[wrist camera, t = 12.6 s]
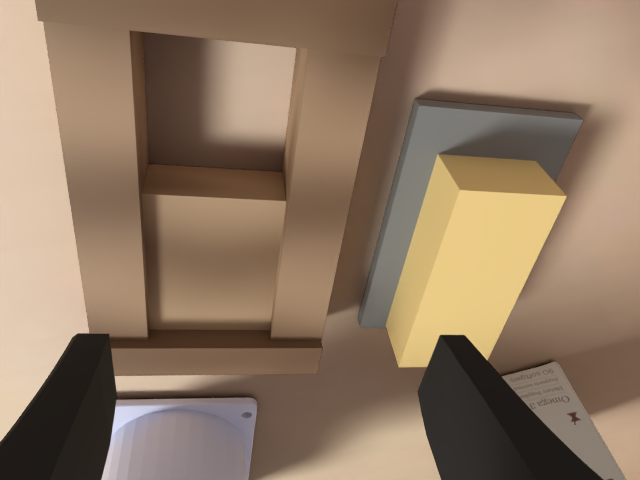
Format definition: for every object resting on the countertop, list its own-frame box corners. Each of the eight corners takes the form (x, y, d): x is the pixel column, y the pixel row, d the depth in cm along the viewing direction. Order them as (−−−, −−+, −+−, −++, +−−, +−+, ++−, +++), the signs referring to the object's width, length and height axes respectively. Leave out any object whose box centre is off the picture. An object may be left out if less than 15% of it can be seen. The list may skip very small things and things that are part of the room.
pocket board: (308, 322, 26) (316, 373, 23) (106, 321, 24) (93, 376, 22) (374, -29, 17) (398, -4, 14) (58, -72, 15) (27, -51, 13)
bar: (465, 325, 26) (484, 366, 24) (385, 325, 26) (398, 367, 24) (535, 160, 21) (567, 196, 19) (437, 154, 20) (459, 190, 18)
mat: (482, 319, 27) (486, 328, 27) (357, 318, 26) (360, 328, 26) (575, 113, 21) (583, 120, 20) (414, 98, 20) (419, 105, 19)
